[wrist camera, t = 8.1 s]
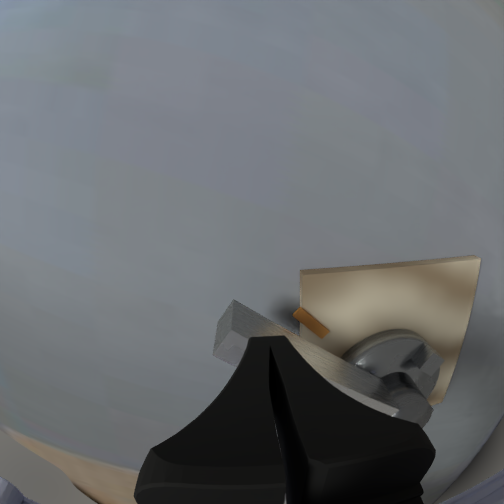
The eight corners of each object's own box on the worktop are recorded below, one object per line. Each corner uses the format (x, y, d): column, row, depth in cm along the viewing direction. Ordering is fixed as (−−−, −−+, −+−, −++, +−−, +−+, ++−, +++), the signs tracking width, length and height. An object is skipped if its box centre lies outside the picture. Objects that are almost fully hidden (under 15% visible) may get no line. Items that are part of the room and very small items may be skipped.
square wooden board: (438, 396, 25) (443, 403, 24) (288, 427, 25) (290, 437, 24) (474, 255, 21) (482, 259, 20) (290, 270, 21) (292, 277, 20)
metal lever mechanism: (446, 354, 22) (479, 390, 17) (376, 428, 24) (394, 470, 19) (270, 233, 19) (281, 261, 13) (191, 347, 21) (177, 400, 16)
